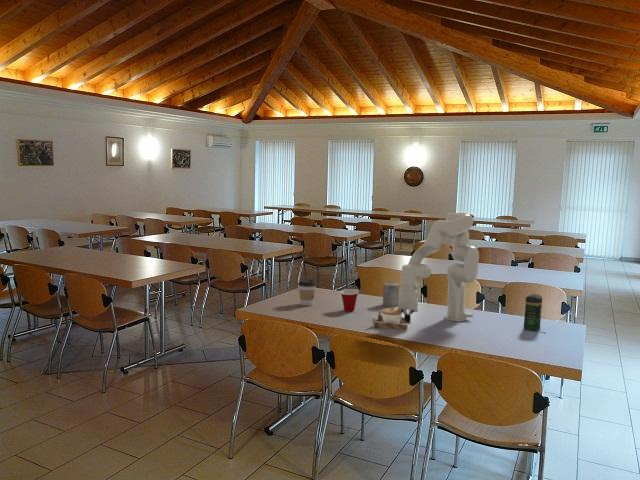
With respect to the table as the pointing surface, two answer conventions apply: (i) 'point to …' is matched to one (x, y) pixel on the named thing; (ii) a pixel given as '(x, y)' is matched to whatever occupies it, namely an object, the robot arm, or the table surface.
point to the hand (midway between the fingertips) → (407, 321)
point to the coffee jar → (533, 312)
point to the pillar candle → (390, 294)
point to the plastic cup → (349, 299)
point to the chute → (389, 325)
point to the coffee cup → (307, 291)
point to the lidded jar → (391, 315)
